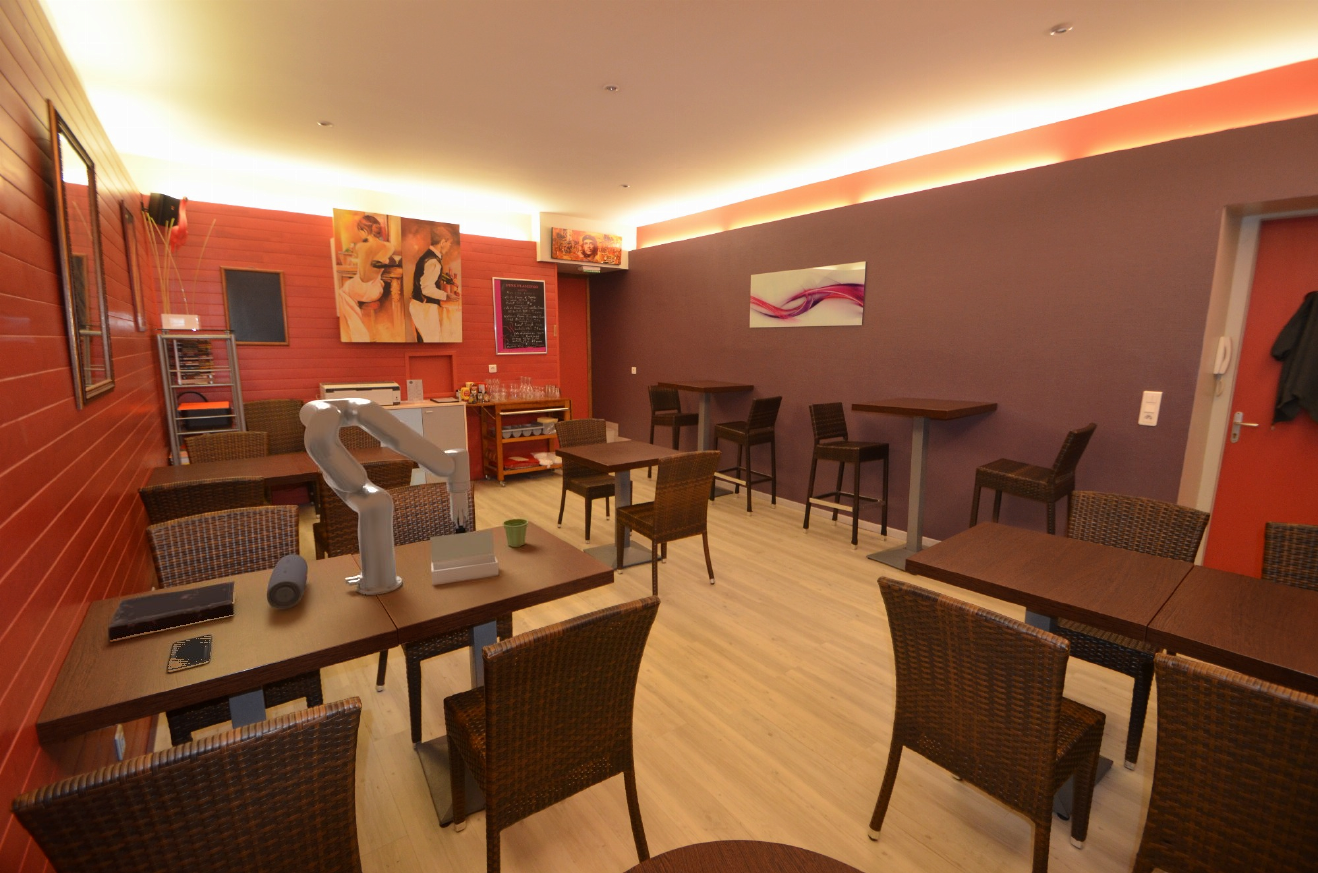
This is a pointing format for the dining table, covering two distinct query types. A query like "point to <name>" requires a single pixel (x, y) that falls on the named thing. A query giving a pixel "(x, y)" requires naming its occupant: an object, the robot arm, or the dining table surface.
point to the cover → (461, 545)
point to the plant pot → (515, 531)
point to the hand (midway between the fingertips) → (461, 538)
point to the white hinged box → (464, 569)
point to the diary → (171, 609)
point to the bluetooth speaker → (287, 582)
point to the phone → (192, 651)
